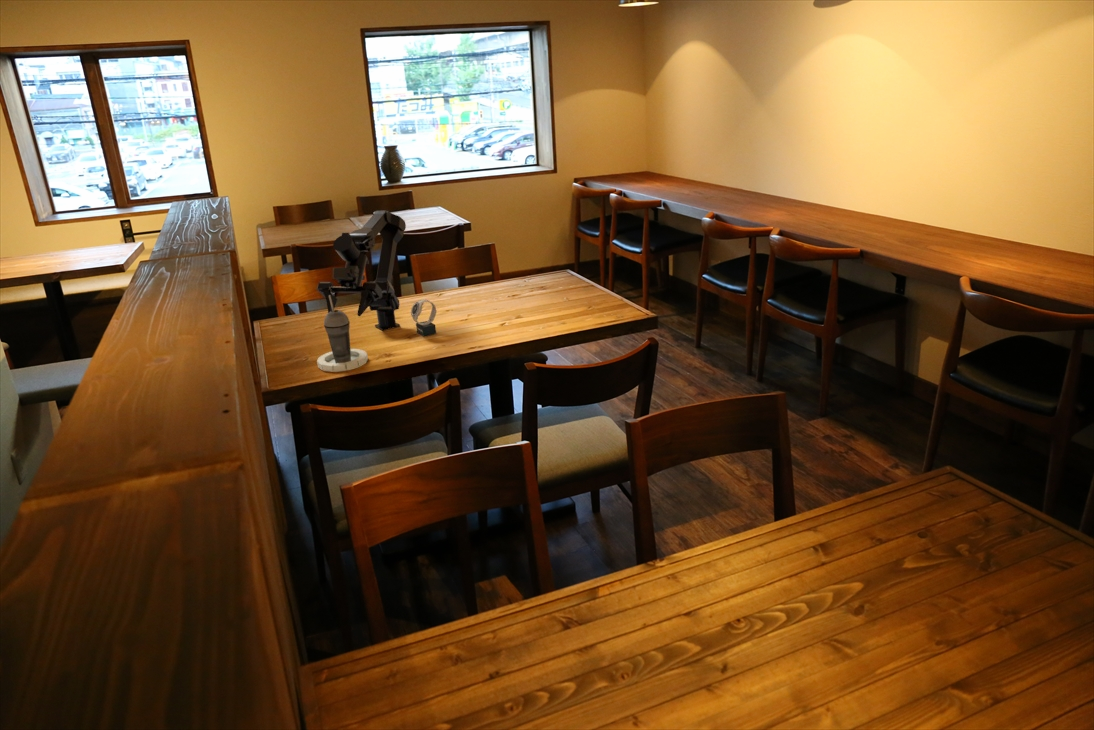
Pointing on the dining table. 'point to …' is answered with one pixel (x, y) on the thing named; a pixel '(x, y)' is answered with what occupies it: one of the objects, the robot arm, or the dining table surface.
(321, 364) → the ring tray
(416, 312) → the watch
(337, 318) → the beverage cup
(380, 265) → the robot arm
